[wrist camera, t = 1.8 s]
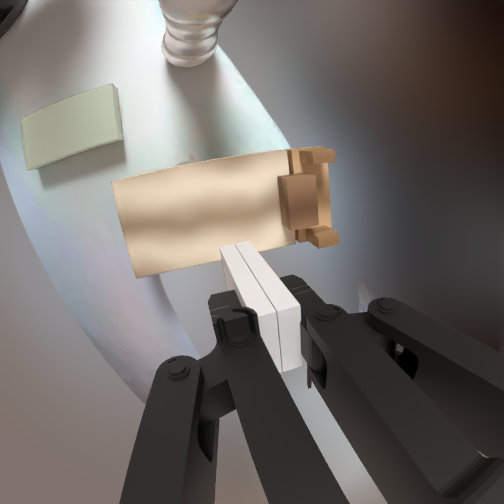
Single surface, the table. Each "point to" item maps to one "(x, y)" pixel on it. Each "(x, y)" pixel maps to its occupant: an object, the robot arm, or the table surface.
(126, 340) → the table surface
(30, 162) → the block
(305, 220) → the block
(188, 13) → the plastic bottle
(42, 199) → the table surface
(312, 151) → the toolbox
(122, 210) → the lid
